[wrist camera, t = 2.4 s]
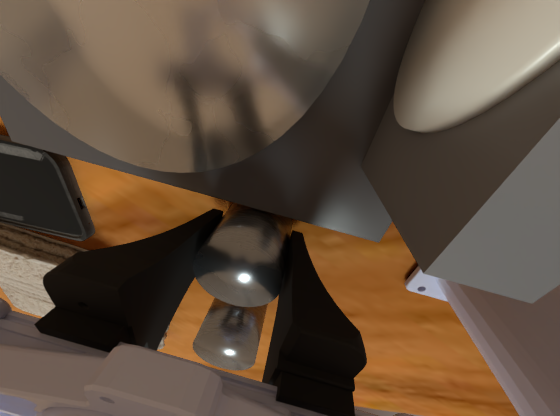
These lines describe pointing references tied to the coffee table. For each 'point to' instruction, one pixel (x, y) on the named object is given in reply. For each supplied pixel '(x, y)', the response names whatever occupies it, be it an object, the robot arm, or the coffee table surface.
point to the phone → (41, 192)
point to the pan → (175, 71)
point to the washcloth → (31, 267)
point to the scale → (409, 143)
